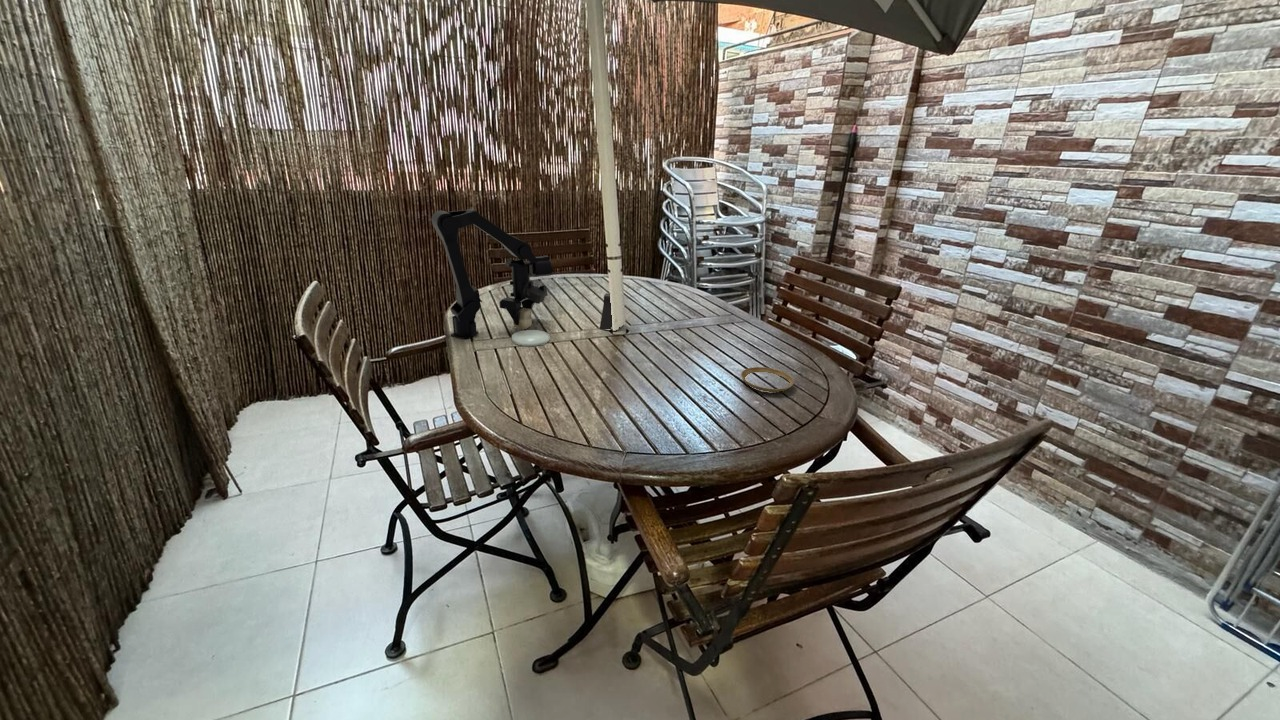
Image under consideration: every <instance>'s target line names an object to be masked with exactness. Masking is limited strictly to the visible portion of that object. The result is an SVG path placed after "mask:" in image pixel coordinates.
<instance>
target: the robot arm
mask: <svg viewBox="0 0 1280 720" xmlns="http://www.w3.org/2000/svg"><path fill="white" fill-rule="evenodd" d="M430 220H431V224H432V226H433V228H434V230H435V232H436V234H437V235H438V237H439V238H440V240H441V242H442V244H443V247H444V249H445V254H446V257H447V260H448V263H449V266H450V269H451V273H452V276H453V279H454V283H455V298H456V301H455V302H454V304H452V305H451V307H450V309H449V310H450V312H451V313H452V315H453V316H452V317H451V318H452V328H453V333H450V337H454V336H455V338H458V339H459V338H460V339H465V340H469V339H470V338H472V337H474V336H476V335H478V334H479V331H478V330H477V322H476V321H475V319H476V316H477V313H478V312H479V311H480V309H481V305H482V304H481V303H483V301H482V299H481V297H480V291H479V289H478V288H476V287H475V286H474V285H471V282H470V279H469V275H468V273H467V268H466V265H465V262H464V258H463V256H462V252H461V248H460V245H459V244H460V243H459V229H461V228H465V227H468V226H470V225H474V226H475V228H476V227H477V228H478V229H480V230H481V231H483V232H484V233H485V234H487V235H489V236H490V237H491V238H493V239H494V240H496V241H497V242H499V243H500V244H501V245H502V247H504V249H505V250H506V251H508V253H509V254H510V255H512V256H513V257H515V258H517V259H513V258H512V257H509V258H508V260H507V261H506V262H505V263H504V264H505V265H506V266H508V267H509V268H511V279H512V280H511V281H509V285H512V292H510V295H509V297H508V296H507V297H504V298H502V299H501V300H499V308H500V309H503V310H506V311H507V313H508V314H509V316H510V317H511V319H512V321H514V323H515V325H519V319H520V311H521V310H522V309H523V308H527V309H531V312H532V310H533V308H534V305H535V304H537V305H538V304H541V303H542V302H544V301H545V299H546V297H547V296H548V289H547V288H548V287H547V286H546V285H544V284H542V285H540V286H535V285H534V282H533V280H530V279H531V276H530V275H532V276H533V277H534V278H539V277H550V276H551V275H553V267H552V263H551V261H550V256H548V255H541V256H535V254H534V253H533V252H532V247H531V245H530V244H529V243H528V242H526V241H524V240H521V239H519V238H517V237H515V236H513V235H511V234H509V233H508V232H506V231H505V230H503V229H502V228H500V227H499V226H497V224H494V223H493V222H491V220H489V219H487V218H486V217H484V216H483V215H481V214H480V212H479V211H477V210H475V209H473V208H468V209H463V210H453V211H445V210H442V209H441V210H437V211H435V212H434V213H433V214H432V216H431V218H430ZM525 260H526V261H525Z"/></svg>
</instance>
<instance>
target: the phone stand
mask: <svg viewBox="0 0 1280 720" xmlns="http://www.w3.org/2000/svg"><path fill="white" fill-rule="evenodd" d="M610 294H611V293H604V295H603V306H602V310H601V311H602V312H601V318H600V325H599V330H600V329H611V327H612V315H611V303H610Z"/></svg>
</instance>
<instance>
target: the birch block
mask: <svg viewBox="0 0 1280 720" xmlns="http://www.w3.org/2000/svg"><path fill="white" fill-rule="evenodd" d="M532 318H533V317H532V311H531V309H527V308H523V309H522V310H521V311H520V319H519V325H515V323H514V321H513V320H512V321H513V328H515V327H516V329H521V328H522V329H521V330H527V329H528V328H529V326H530V327H532V326H531V325H533V323H532Z"/></svg>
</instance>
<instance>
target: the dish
mask: <svg viewBox="0 0 1280 720" xmlns="http://www.w3.org/2000/svg"><path fill="white" fill-rule="evenodd" d="M511 341H513V342H514V343H515V344H514V343H513V342H512V343H513V344H514V345H516V344H518V346H520V345H522V346H521V347H526V346H534V347H539V346H538V345H541V346H543V345H542V344H544V345H546V344H548V343H549V342H550V334H549V333H548V332H545V331H543V330H537V329H523V330H520V331H517V332H514V333H513V334H512V335H511ZM548 341H549V342H548ZM547 342H548V343H547ZM545 343H546V344H545Z"/></svg>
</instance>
